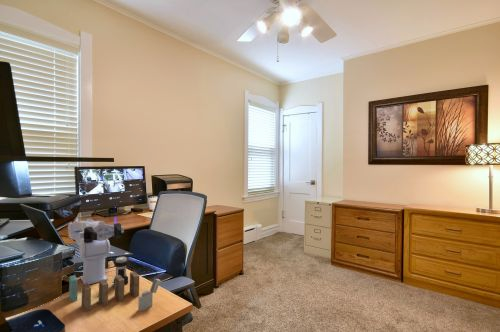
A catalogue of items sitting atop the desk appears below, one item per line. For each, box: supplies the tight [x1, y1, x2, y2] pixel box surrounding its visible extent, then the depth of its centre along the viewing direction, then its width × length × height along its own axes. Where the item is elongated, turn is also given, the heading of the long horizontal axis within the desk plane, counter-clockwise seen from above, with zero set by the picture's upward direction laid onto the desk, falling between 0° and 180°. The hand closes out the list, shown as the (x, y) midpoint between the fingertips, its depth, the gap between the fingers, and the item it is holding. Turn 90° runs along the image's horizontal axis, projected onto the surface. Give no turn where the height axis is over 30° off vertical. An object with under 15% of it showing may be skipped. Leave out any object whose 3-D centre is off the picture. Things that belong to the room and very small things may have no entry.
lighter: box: [137, 278, 161, 312], centre depth 87 cm, size 7×2×8 cm, turn 146°
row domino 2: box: [98, 279, 109, 307], centre depth 89 cm, size 5×2×7 cm, turn 42°
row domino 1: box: [81, 283, 92, 313], centre depth 85 cm, size 5×2×7 cm, turn 42°
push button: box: [108, 256, 130, 287], centre depth 102 cm, size 7×5×10 cm
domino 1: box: [68, 274, 78, 303], centre depth 91 cm, size 5×2×7 cm, turn 42°
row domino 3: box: [114, 275, 125, 302], centre depth 92 cm, size 5×2×7 cm, turn 42°
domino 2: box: [129, 271, 140, 298], centre depth 95 cm, size 5×2×7 cm, turn 42°
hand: (108, 235), depth 92 cm, fingers open, 7 cm apart
